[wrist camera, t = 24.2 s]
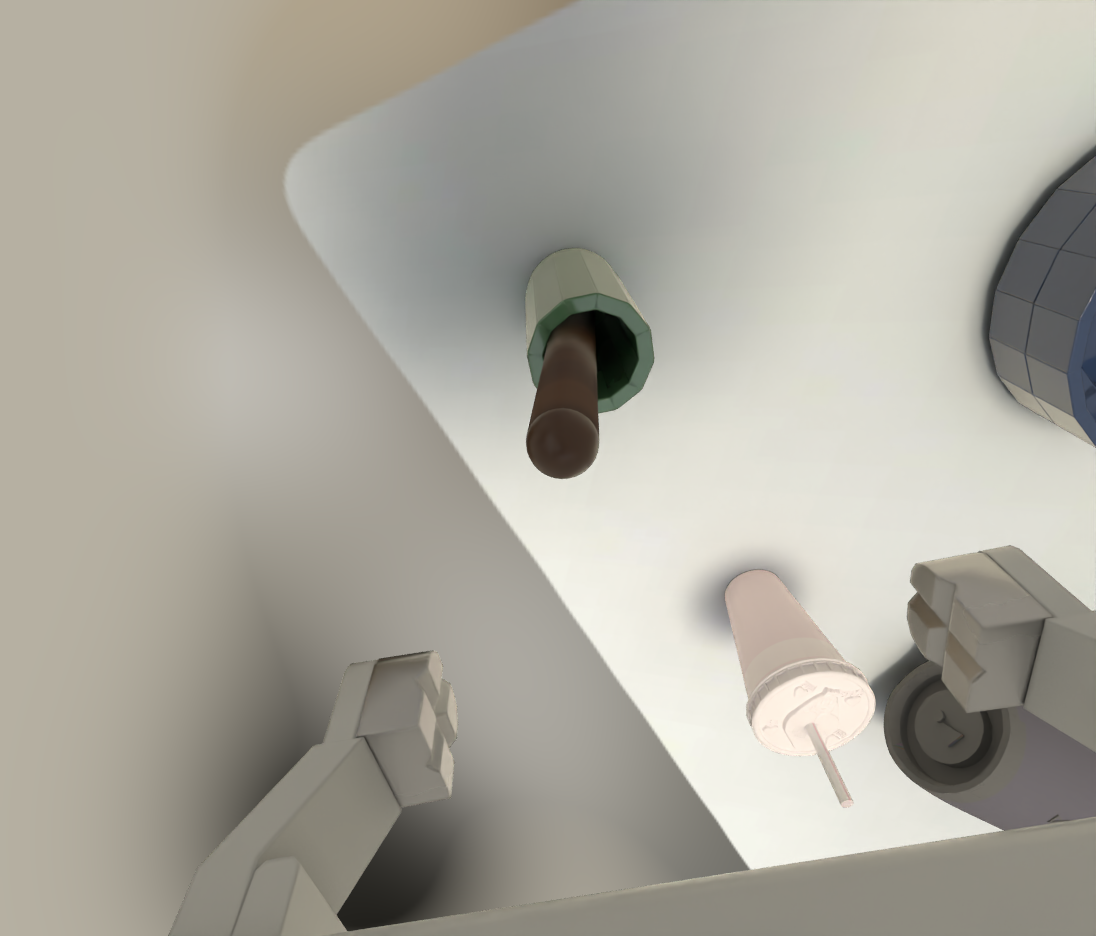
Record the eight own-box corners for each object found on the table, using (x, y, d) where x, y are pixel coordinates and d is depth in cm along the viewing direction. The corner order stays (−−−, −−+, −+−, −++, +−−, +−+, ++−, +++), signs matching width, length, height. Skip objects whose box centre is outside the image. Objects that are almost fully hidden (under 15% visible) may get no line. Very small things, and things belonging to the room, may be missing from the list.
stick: (553, 288, 31) (515, 428, 15) (591, 281, 30) (592, 415, 14) (560, 325, 31) (531, 496, 15) (596, 318, 31) (605, 486, 15)
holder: (516, 259, 30) (516, 309, 23) (612, 238, 30) (645, 282, 22) (536, 350, 33) (542, 425, 25) (625, 331, 32) (660, 401, 24)
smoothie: (689, 621, 42) (759, 830, 30) (726, 543, 39) (821, 740, 27) (778, 636, 43) (881, 845, 31) (820, 562, 40) (953, 760, 28)
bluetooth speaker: (848, 700, 46) (925, 837, 38) (946, 614, 43) (1056, 743, 34) (1049, 791, 53) (1155, 926, 44) (1150, 723, 49) (1287, 855, 40)
